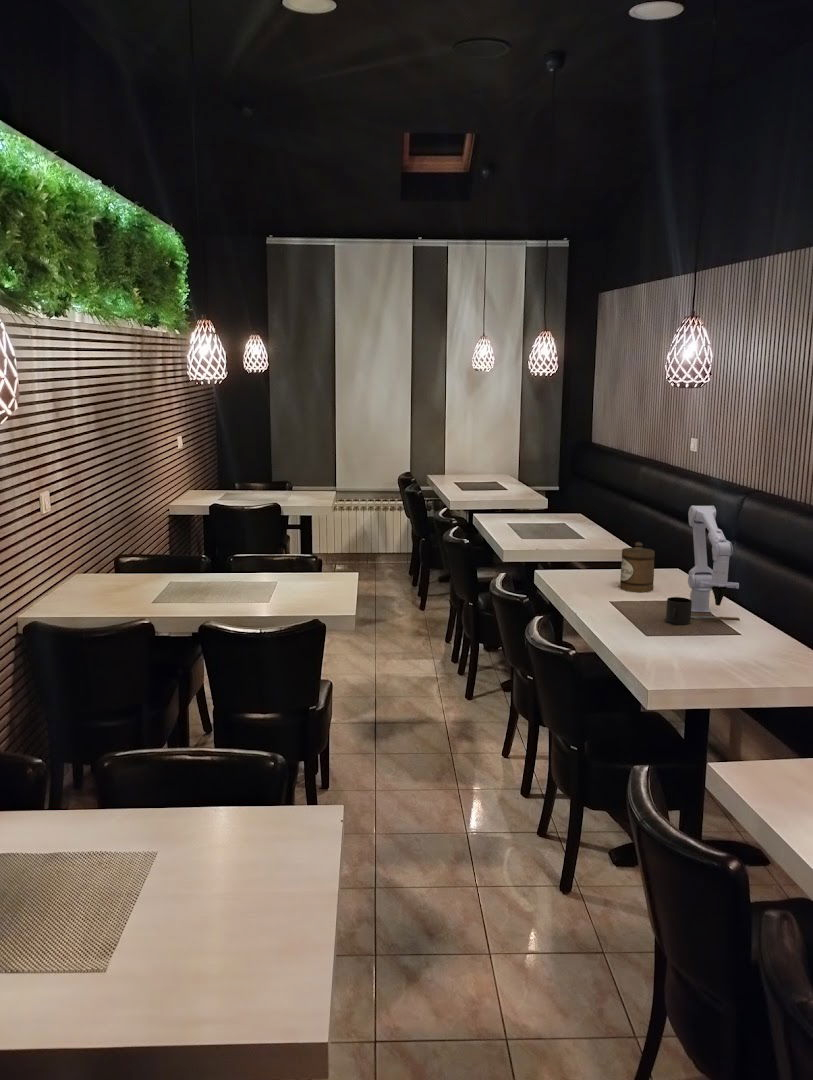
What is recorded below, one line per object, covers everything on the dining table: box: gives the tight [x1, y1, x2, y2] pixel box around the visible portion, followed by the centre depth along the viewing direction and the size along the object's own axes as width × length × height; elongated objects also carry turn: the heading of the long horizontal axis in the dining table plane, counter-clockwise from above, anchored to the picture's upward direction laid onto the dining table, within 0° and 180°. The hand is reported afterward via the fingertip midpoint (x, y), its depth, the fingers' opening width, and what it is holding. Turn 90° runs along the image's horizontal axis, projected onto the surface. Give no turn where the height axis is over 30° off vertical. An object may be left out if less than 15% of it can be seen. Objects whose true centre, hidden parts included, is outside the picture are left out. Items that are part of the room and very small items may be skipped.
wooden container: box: [619, 541, 656, 593], centre depth 398 cm, size 15×15×22 cm
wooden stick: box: [691, 615, 741, 621], centre depth 351 cm, size 2×28×1 cm, turn 83°
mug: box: [665, 596, 692, 626], centre depth 344 cm, size 9×12×9 cm
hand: (717, 605), depth 345 cm, fingers closed
